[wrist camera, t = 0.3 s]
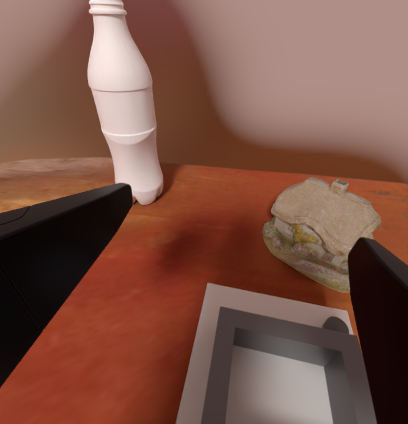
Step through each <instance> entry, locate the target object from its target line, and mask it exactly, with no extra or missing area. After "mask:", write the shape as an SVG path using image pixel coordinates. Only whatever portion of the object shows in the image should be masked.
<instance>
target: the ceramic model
mask: <svg viewBox="0 0 408 424" xmlns="http://www.w3.org/2000/svg"><path fill="white" fill-rule="evenodd" d="M348 185H349V184H348V183H347V182H343V181H340V180H339V179H337V180H335V181H334V182H333V183H332V185H330V184H328V183H327V182H325V181H323V180H320V179H317V178H312V177H310V178H308V179H306V180H305V181H303V182H301V183H298V184H293V185H291V186H290V187H288V188H286V189H285V190H284V191H283V192H282V193H281V194H280V195H279V196H278V198H277V199H276V202H275V204H273V207H272V209H271V213H272V214H273V215H274V217H273V219H272V220H271V221H270V222H269V221H268V222H266V223H265V224H264V226H263V229H262V234H263V239H264V242H265V244H266V246H267V247H268V249H269V250H270V252H271V253H272V254H273V255H274V256H275V257H276V258H278V259H279V260H281V261H283V262H284V263H286V264H287V265H289V266H290V267H292V268H293V269H295V270H296V271H298V272H300V273H301V274H303V275H305V276H307V277H308V278H310V279H312V280H314V281H316V282H318V283H320V284H322V285H324V286H326V287H328V288H330V289H333V290H336V291H339V292H344V293H350V285H349V272H348V254H349V252H350V250H351V249H352V247H353V246H354V244H355V243H356V241H357V240H358V239H359V238H360V237H365V238H370V239H374V238H373V235H372V232H373V231H374V230H376V229H378V228H379V227H380V225H381V220H380V216H379V215H378V214H377V213H376V212H375V210H374V209H373V208H372V206H371V205H370V203H371V202H369V201H368V200H366V199H364V198H362V197H360V196H358V195H356V194H353V193H351V192H348V191H346V189H347V187H348Z"/></svg>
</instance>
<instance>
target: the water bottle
mask: <svg viewBox="0 0 408 424" xmlns="http://www.w3.org/2000/svg"><path fill="white" fill-rule="evenodd" d="M89 4H90V5H91V9H90V10H89V13H90V14H93V21H94V38H93V44H92V48H91V53H90V58H89V64H88V82H89V86H90V87H91V89H92V93H93V96H94V101H95V104H96V108H97V112H98V115H99V119H100V123H101V127H102V129H101V130H102V132H103V134H104V135H105V138H106V140H107V143H108V145H109V148H110V151H111V154H112V159H113V163H114V170H115V182H116V184H117V183H126V184H129V185H130V186H131V188H132V197H133V203H134V202H135V201H136V199H137V201H138V202H139V203H140V204H141V205H148V204H151V203H152V202H154V200H155V199H156V197H159V196H160V194H161V193H162V189H163V174H162V171H161V168H160V165H159V161H158V155H157V148H156V126H157V124H156V118H155V110H154V101H153V93H152V84H153V83H152V78H151V74H150V71H149V69H148V66H147V64H146V63H145V61H144V59H143V57H142V55H141V53H140V51H139V50H138V48H137V46H136V45H135V43H134V41H133V39H132V37H131V35H130V33H129V30H128V27H127V24H126V20H125V15H127V12H126V11H125V10H124V9H123V5H124V4H123V3H122V0H90V2H89Z"/></svg>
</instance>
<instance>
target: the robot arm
mask: <svg viewBox="0 0 408 424" xmlns="http://www.w3.org/2000/svg"><path fill="white" fill-rule="evenodd" d="M132 204H133V197H132V188H131V186H130V185H129V184H126V183H117V184H113V185H109V186H105V187H101V188H97V189H94V190H90V191H86V192H82V193H78V194H74V195H70V196H66V197H62V198H59V199H55V200H51V201H47V202H43V203H39V204H35V205H32V206H27V207H23V208H20V209H16V210H11V211H7V212H3V213H0V387H1V386H2V385H3V383H4V382H5V381H6V379H7V378H8V377H9V375H10V374H11V373H12V371H13V370H14V369H15V367H16V366H17V365H18V363H19V362H20V361H21V359H22V358H23V357H24V355H25V354H26V353H27V351H28V350H29V349H30V347H31V346H32V345H33V343H34V342H35V341H36V339H37V338H38V337H39V335H40V334H41V333H42V331H43V330H44V329H45V327H46V326H47V325H48V323H49V322H50V321H51V319H52V318H53V317H54V315H55V314H56V313H57V311H58V310H59V309H60V307H61V306H62V305H63V303H64V302H65V301H66V299H67V298H68V297H69V295H70V294H71V293H72V291H73V290H74V289H75V287H76V286H77V285H78V283H79V282H80V281H81V279H82V278H83V277H84V275H85V274H86V273H87V271H88V270H89V269H90V267H91V266H92V265H93V263H94V262H95V261H96V259H97V258H98V257H99V255H100V254H101V253H102V251H103V250H104V249H105V247H106V246H107V245H108V243H109V242H110V241H111V239H112V238H113V237H114V235H115V234H116V232H117V231H118V229H119V227H120V226H121V224H122V222H123V221H124V219H125V217H126V215H127V214H128V212H129V210H130V209H131V207H132ZM348 272H349V285H350V295H351V301H352V306H353V311H354V316H355V321H356V326H357V330H358V335H359V340H360V345H361V350H362V355H363V359H364V364H365V369H366V374H367V379H368V384H369V388H370V393H371V398H372V403H373V408H374V413H375V417H376V422H377V424H408V265H407V264H405V263H404V262H403V261H401V260H400V259H399V258H398V257H396V256H395V255H394V254H392V253H391V252H390V251H388V250H387V249H386V248H385V247H383V246H382V245H381V244H379V243H378V242H377V241H375V240H374V239H370V238H365V237H360V238H359V239H358V240H357V241H356V243H355V244H354V246H353V247H352V249H351V250H350V252H349V254H348Z"/></svg>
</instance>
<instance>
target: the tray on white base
mask: <svg viewBox="0 0 408 424" xmlns="http://www.w3.org/2000/svg"><path fill="white" fill-rule="evenodd" d="M176 424H377V422H376V417H375V413H374V408H373V403H372V398H371V393H370V388H369V384H368V379H367V374H366V369H365V364H364V360H363V356H362V353H361V349H360V346H359V342H358V339H357V336H356V335H354V334H353V331H352V327H351V324H350V320H349V316H348V313H347V311H345V310H340V309H335V308H330V307H325V306H320V305H315V304H310V303H305V302H300V301H295V300H290V299H285V298H280V297H275V296H270V295H265V294H260V293H256V292H251V291H246V290H241V289H236V288H231V287H226V286H221V285H216V284H211V283H208V284H207V288H206V292H205V297H204V301H203V306H202V310H201V314H200V319H199V323H198V328H197V332H196V336H195V341H194V345H193V350H192V354H191V358H190V363H189V367H188V372H187V376H186V380H185V385H184V389H183V394H182V398H181V402H180V407H179V411H178V416H177V420H176Z"/></svg>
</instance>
